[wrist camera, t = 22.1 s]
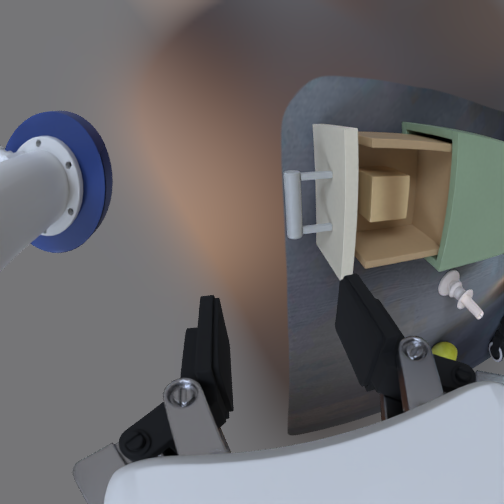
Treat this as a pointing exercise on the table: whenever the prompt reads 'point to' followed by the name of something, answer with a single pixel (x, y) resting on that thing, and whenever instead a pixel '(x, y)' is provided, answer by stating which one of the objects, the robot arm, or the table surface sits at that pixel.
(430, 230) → the drawer
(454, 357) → the fruit
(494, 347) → the headphones
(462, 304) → the candle
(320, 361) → the table surface
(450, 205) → the cabinet
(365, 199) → the block
